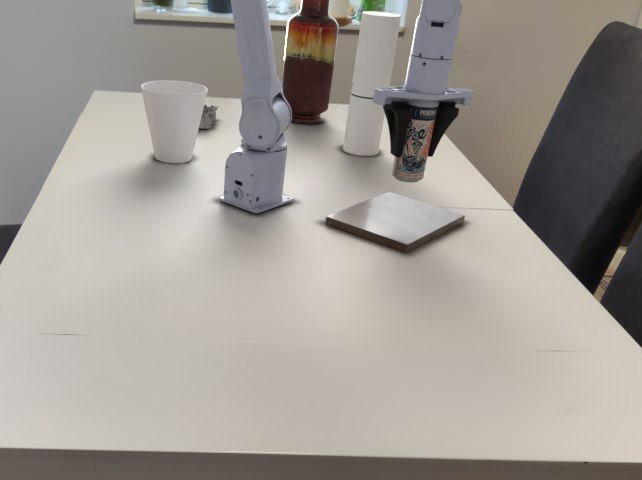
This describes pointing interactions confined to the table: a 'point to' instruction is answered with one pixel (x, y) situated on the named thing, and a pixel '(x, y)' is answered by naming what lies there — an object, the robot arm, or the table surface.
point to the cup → (173, 117)
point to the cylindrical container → (370, 81)
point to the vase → (309, 61)
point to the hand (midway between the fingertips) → (411, 155)
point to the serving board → (395, 221)
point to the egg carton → (208, 117)
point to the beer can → (416, 141)
